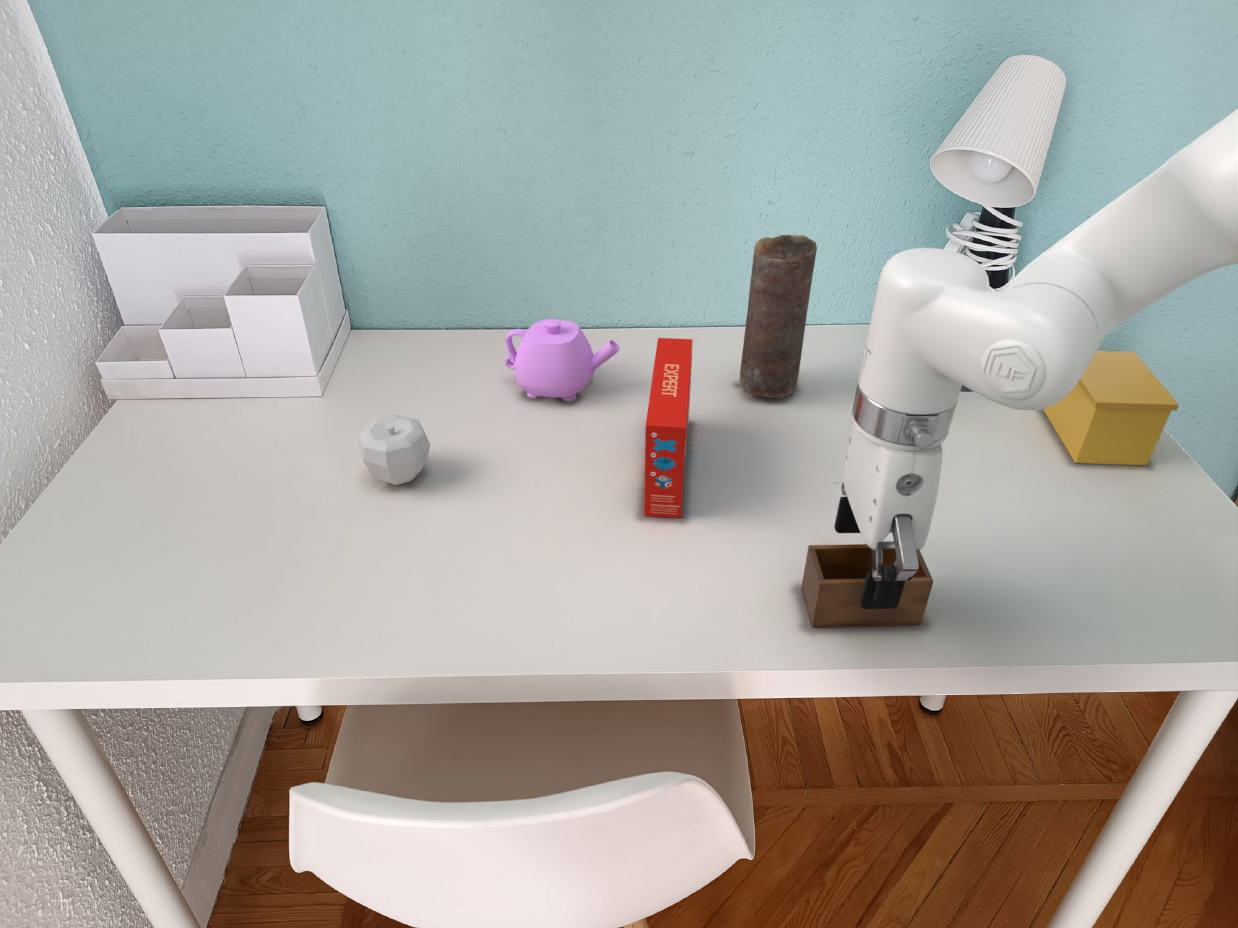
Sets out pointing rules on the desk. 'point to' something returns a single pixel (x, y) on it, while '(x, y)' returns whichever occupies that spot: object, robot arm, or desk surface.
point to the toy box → (667, 428)
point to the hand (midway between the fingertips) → (863, 566)
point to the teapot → (555, 359)
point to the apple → (394, 449)
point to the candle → (777, 314)
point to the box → (1113, 411)
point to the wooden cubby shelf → (857, 588)
